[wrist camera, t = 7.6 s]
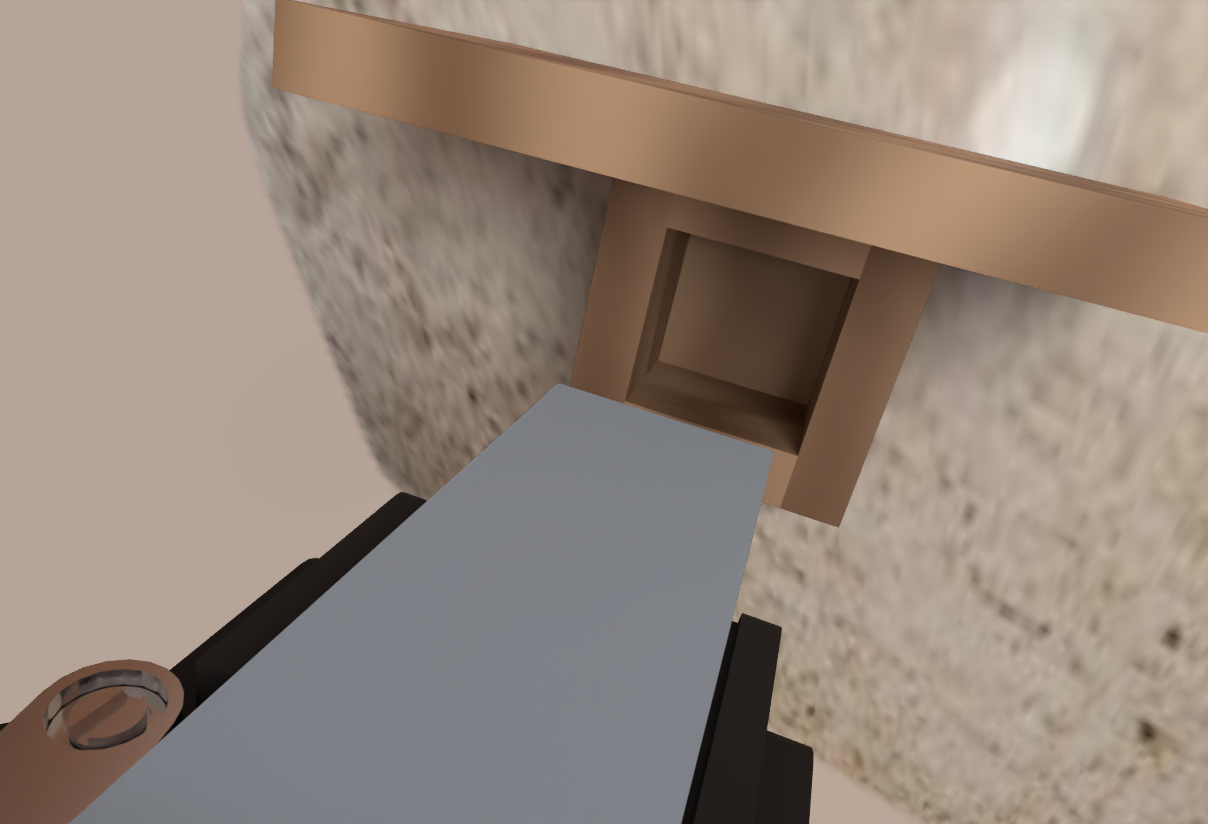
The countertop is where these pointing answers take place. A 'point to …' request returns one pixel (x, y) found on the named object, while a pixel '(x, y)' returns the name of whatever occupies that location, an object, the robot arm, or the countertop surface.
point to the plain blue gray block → (493, 646)
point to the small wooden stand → (758, 233)
